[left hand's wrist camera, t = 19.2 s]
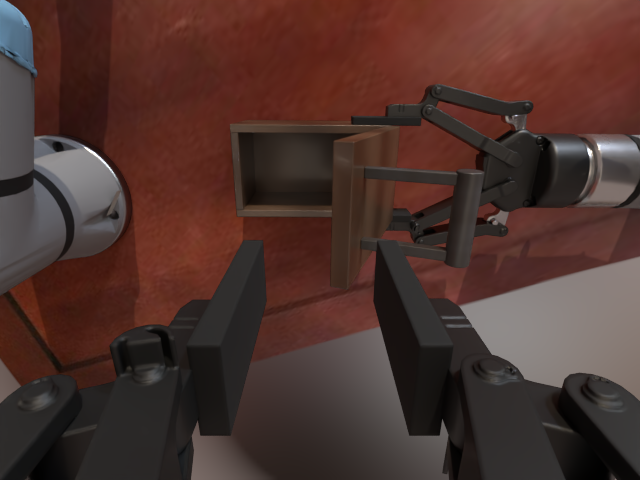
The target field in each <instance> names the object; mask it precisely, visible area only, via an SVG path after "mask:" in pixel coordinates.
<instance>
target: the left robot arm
mask: <svg viewBox="0 0 640 480" xmlns="http://www.w3.org/2000/svg"><path fill="white" fill-rule="evenodd" d="M34 77H37V70H36V69H35V67H34V61H33V41H32V31H31V27H30V25H29V23H28V21H27V19H26V18H25V17H24V15H23V14H22V13H21V12H20V11H19V10H18V9H17V8H16V7H14V6H13V5H11V4H10V3H9V2H7V1H5V0H0V295H2V294H3V293H5V292H7V291H8V290H10V289H11V288H13V287H15V286H16V285H18V284H19V283H21V282H23V281H24V280H26V279H28V278H29V277H31V276H32V275H34V274H36V273H37V272H39V271H41V270H42V269H44V268H45V267H47V266H49V265H50V264H52V263H54V262H55V261H59V260H66V259H73V258H79V257H87V256H91V255H95V254H97V253H100V252H102V251H103V250H105V249H107V248H108V247H110V246H111V245H113V244H114V243H115V242H117V241H118V240H119V239H120V238H121V237H122V235H123V234H124V233H125V231H126V229H127V227H128V225H129V222H130V218H131V212H132V203H131V196H130V192H129V188H128V186H127V183H126V181H125V179H124V177H123V175H122V174H121V172H120V171H119V169H118V168H117V166H116V165H115V164H114V163H113V162H112V160H111V159H110V158H109V157H108V156H106V155H105V154H104V153H103V152H102V151H100V150H99V149H98V148H96V147H95V146H93V145H91V144H89V143H87V142H85V141H83V140H81V139H78V138H75V137H71V136H67V135H44V136H36V137H34ZM266 301H267V300H266V283H265V267H264V250H263V240H244V241H243V242H242V244H241V246H240V248H239V250H238V252H237V253H236V255H235V257H234V259H233V261H232V263H231V264H230V266H229V268H228V270H227V272H226V273H225V275H224V277H223V279H222V281H221V283H220V284H219V286H218V288H217V290H216V292H215V294H214V295H213V297H212V299H211V300H192V301H190V302H189V303H187V304H186V305H185V306H183V307H182V308H180V310H179V311H178V313H177V314H176V316H175V317H174V320H172V322H171V323H170V325H169V326H168V327H167V326H163V325H145V326H141V327H136V328H134V329H131V330H129V331H127V332H124V333H123V334H121V335H120V336H118V337H117V338H116V339H115V340H114V341H113V342H112V343H111V345H110V350H111V354H112V358H113V362H114V367H115V371H116V375H117V378H116V380H115V381H113V382H110V383H107V384H102V385H98V386H93V387H89V388H84V389H80V390H79V389H78V386H77V383H76V380H74V379H73V378H72V377H71V376H67V375H62V374H60V375H51V376H46V377H42V378H39V379H36V380H34V381H32V382H30V383H28V384H26V385H24V386H22V387H20V388H19V389H17V390H16V391H15V392H13V393H12V394H11V395H9V396H8V397H7V398H6V399H5V400H4V401H2V402H1V403H0V480H191V473H192V463H193V454H194V449H193V442H192V434H193V431H194V428H195V426H196V423H197V421H198V423H199V430H200V435H201V436H230V435H231V432H232V428H233V425H234V421H235V417H236V413H237V410H238V406H239V402H240V399H241V395H242V391H243V387H244V384H245V380H246V376H247V372H248V369H249V365H250V361H251V357H252V354H253V350H254V346H255V342H256V339H257V335H258V331H259V327H260V324H261V320H262V316H263V313H264V309H265V305H266ZM373 301H374V305H375V309H376V313H377V316H378V320H379V324H380V328H381V331H382V335H383V339H384V342H385V346H386V350H387V354H388V357H389V361H390V365H391V369H392V372H393V376H394V380H395V384H396V387H397V391H398V395H399V399H400V402H401V406H402V410H403V413H404V417H405V421H406V425H407V429H408V432H409V435H410V436H439V435H440V430H441V423H442V419H443V421H444V424H445V427H446V429H447V432H448V434H449V436H448V442H447V448H446V454H445V460H444V466H443V473H444V474H447V472H449V480H615V478H616V479H617V480H640V401H639V400H638V399H637V398H636V397H635V396H634V395H632V394H631V393H630V392H628V391H627V390H626V389H624V388H623V387H622V386H620V385H618V384H616V383H614V382H612V381H610V380H608V379H606V378H603V377H599V376H596V375H593V374H586V373H576V374H570V375H569V376H568V377H567V378H565V380H564V383H563V386H562V388H558V387H554V386H549V385H545V384H540V383H536V382H532V381H528V380H525V379H524V377H523V375H522V374H521V373H520V371H519V370H518V368H516V367H515V366H514V365H513V364H511V363H510V362H509V361H507V360H505V359H502V358H500V357H498V356H495V355H492V354H491V353H490V351H489V350H488V348H487V347H486V345H485V344H484V342H483V341H482V339H481V338H480V337H479V335H478V334H477V332H476V331H475V329H474V328H472V325H471V323H470V322H469V320H468V319H466V316H465V315H464V313H463V311H462V310H461V309H460V307H459V306H457V305H456V304H454V303H453V302H451V301H450V300H449V299H428V297H427V295H426V294H425V292H424V290H423V288H422V286H421V284H420V283H419V281H418V279H417V277H416V275H415V273H414V272H413V270H412V268H411V266H410V264H409V263H408V261H407V259H406V257H405V255H404V253H403V252H402V250H401V248H400V246H399V244H398V242H397V241H396V240H377V250H376V267H375V283H374V300H373Z"/></svg>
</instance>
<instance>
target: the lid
mask: <svg viewBox="0 0 640 480" xmlns="http://www.w3.org/2000/svg"><path fill="white" fill-rule="evenodd" d="M399 133H400V127H399V126H386V127H382V128H379V129H375V130H372V131H368V132H364V133H361V134H357V135H353V136H350V137H346V138H342V139H339V140H335V141H334V142H333V178H332V225H331V272H330V286H331V287H336V288H342V289H349V287H350V285H351V284H352V282H353V281H354V279H355V278H356V276H357V274H358V273H359V271H360V270H361V268H362V267H363V265H364V263H365V262H366V260H367V259H368V257H369V256H370V254H371V253H372V251H376V250H377V240H385V239H380V238H381V237H382V235H383V234H384V232H385V231H386V229H387V227H388V226H389V224H390V223H391V221H392V218H393V206H394V194H395V181H404V182H417V183H430V184H442V185H454V192H453V199H452V206H451V213H450V221H449V228H448V235H447V242H446V247H438V246H430V245H423V244H415V243H408V242H400V241H397V242H398V244H399V246H400V248H401V250H402V252H403V253H404V255H406V256H413V257H419V258H426V259H433V260H440V261H444V263H445V264H447V265H449V266H451V267H456V268H465V267H467V266H468V265H469V262H470V256H471V250H472V244H473V238H474V232H475V226H476V220H477V214H478V208H479V202H480V196H481V190H482V185H483V179H484V172H483V171H481V170H475V169H459V170H457V171H456V172H451V171H436V170H421V169H406V168H397V157H398V145H399Z"/></svg>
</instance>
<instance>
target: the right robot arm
mask: <svg viewBox="0 0 640 480" xmlns="http://www.w3.org/2000/svg"><path fill="white" fill-rule="evenodd" d="M438 101H442V102H446V103H449V104H453V105H457V106H461V107H465V108H468V109H472V110H476V111H480V112H483V113H487V114H492V115H501V120H502V122H504V123H508V124H509V125H510V126H511V130H509V131H508V132H506V133H505V134H503V135H502V136H500V137H499V138H497V139H496V140H492V139H490V138H488V137H486V136H484V135H482V134H481V133H479V132H477V131H475V130H474V129H472V128H470V127H469V126H467V125H465V124H463V123H462V122H460V121H458V120H456V119H455V118H453V117H451V116H450V115H448V114H446V113H444V112H443V111H441V110H439V109H437V108H436V106H437V104H438ZM532 109H533V103H532V102H531V101H509V102H504V101H501V100H497V99H493V98H490V97H486V96H482V95H478V94H475V93H471V92H467V91H463V90H460V89H456V88H452V87H449V86H445V85H441V84H435V85H430V86H428V87H427V88H426V90H425V95H424V97H423V99H422V101H421V102H420V103H418V104H391V105H388V106H386V113H385V116H351V124H352V125H397V126H421V118H423V119H425V120H426V121H428V122H430V123H432V124H433V125H435V126H437V127H439V128H440V129H442V130H444V131H446V132H447V133H449V134H451V135H453V136H454V137H456V138H458V139H460V140H461V141H463V142H465V143H467V144H468V145H470V146H471V147H473V148H474V149H476V150H478V151H480V152H479V154H477V155H476V161H475V162H476V170H481V171H483V172H484V179H483V185H482V190H481V196H480V202H479V207H480V206H482V205H484V204H487V203H489V202H490V203H491V204H493V205H494V206H495V207H496V210H495V211H494V212H493V213H488V214H485V215H484V218H477V220H476V226H475V232H474V237H477V236H482V235H492V236H500V237H503V236H505V235H506V234H507V233H508V228H507V227H506V226H505V223H506V220H507V217H508V214H509V212H511V211H513V210H515V209H518V208H522V207H527V208H563V207H568V208H639V209H640V135H623V134H578V135H574V134H535V133H532V132H530V131H529V130H527V129H526V119H527V114H528V113H530V112H531V111H532ZM452 199H453V196H451V197H449V198H447V199H445V200H443V201H441V202H438V203H436V204H434V205H432V206H430V207H427V208H425V209H423V210H421V211H419V212H416V213H414V214H412V215H411V214H410V213H409V211H408V210H407V209H397V208H393V218H392V221H391V223H390V224H389V226H388V227H387V229H386V230H391V231H393V230H394V231H409V232H410V234H411V238H412V240H413V241H414V243H415V244H423V245H430V246H432V245H437V244H442V243H446V242H447V235H448V228H449V223H448V224H443V225H438V226H433V225H435V224H437V223H439V222H442V221H444V220H446V219H448V218H450V213H451V206H452ZM430 226H433V227H430ZM428 227H429V228H428Z"/></svg>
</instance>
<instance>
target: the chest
mask: <svg viewBox="0 0 640 480" xmlns="http://www.w3.org/2000/svg"><path fill="white" fill-rule="evenodd" d="M386 126H391V125H352V124H351V121H287V120H246V121H242V122H238V123H234V124H230V132H231V146H232V159H233V173H234V186H235V199H236V212H237V217H332V178H333V142H334V141H335V140H339V139H342V138H346V137H350V136H353V135H357V134H361V133H364V132H368V131H372V130H375V129H379V128H382V127H386Z"/></svg>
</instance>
